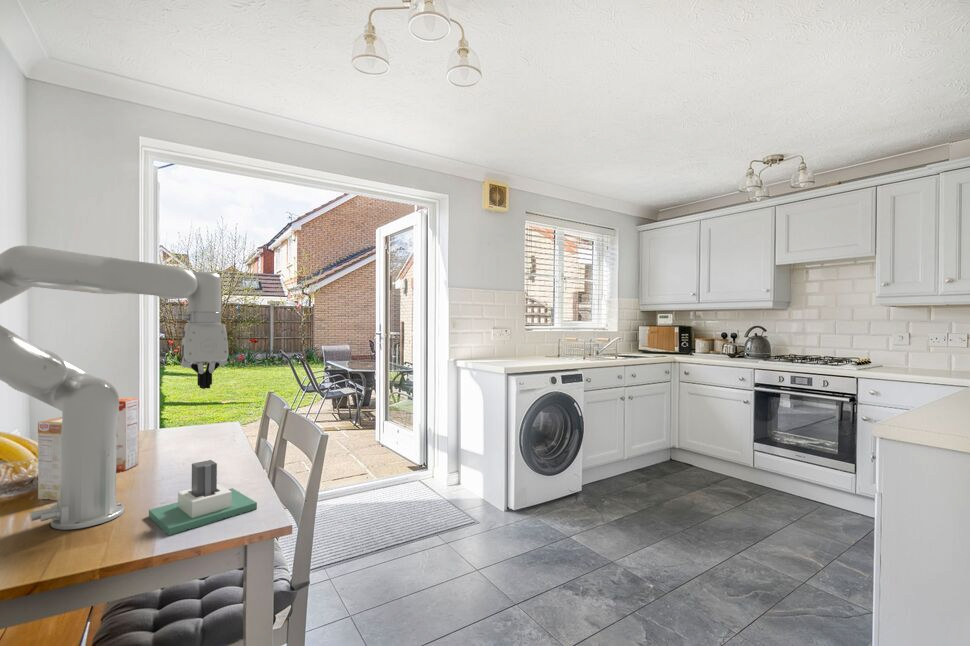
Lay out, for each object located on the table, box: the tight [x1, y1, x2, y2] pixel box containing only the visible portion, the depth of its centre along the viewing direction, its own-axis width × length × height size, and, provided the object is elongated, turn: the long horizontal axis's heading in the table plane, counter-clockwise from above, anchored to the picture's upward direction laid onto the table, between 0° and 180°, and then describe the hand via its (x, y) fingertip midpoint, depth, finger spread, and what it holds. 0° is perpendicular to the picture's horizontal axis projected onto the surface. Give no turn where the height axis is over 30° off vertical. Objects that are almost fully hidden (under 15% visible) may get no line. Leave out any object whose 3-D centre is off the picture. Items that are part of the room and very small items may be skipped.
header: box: [177, 482, 232, 518], centre depth 107 cm, size 8×9×4 cm
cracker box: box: [116, 397, 140, 472], centre depth 137 cm, size 14×6×21 cm, turn 92°
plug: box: [191, 459, 218, 497], centre depth 107 cm, size 4×5×10 cm
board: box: [148, 487, 258, 536], centre depth 108 cm, size 18×14×2 cm
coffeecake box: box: [37, 416, 62, 501], centre depth 121 cm, size 15×7×20 cm, turn 174°
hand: (204, 388), depth 122 cm, fingers closed
